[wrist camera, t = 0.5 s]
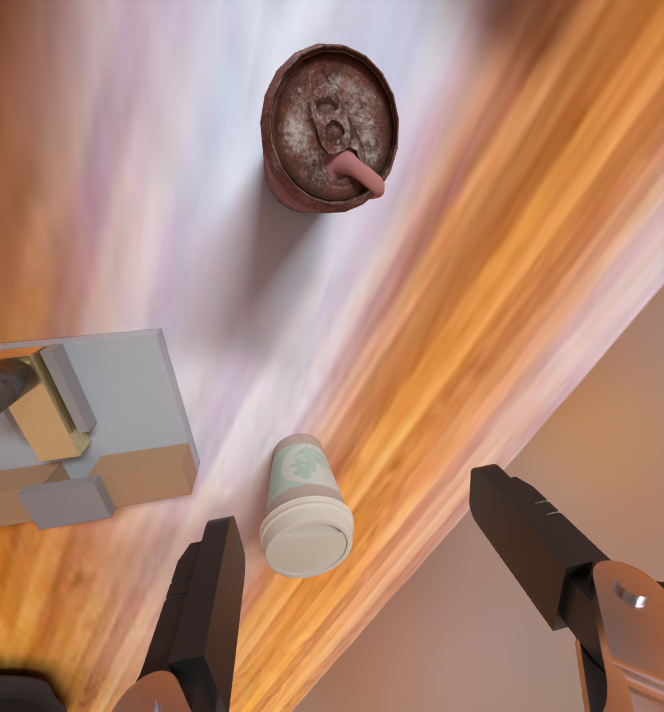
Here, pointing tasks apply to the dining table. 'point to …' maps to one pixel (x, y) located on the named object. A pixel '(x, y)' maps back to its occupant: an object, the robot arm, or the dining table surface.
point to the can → (328, 130)
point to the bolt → (38, 405)
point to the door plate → (102, 433)
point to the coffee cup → (304, 512)
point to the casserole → (27, 695)
